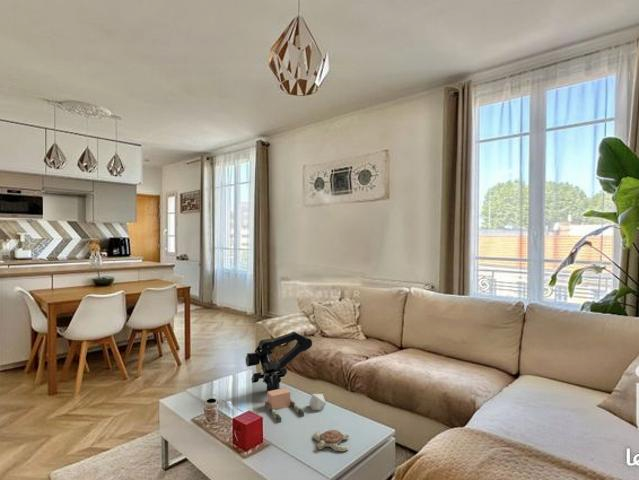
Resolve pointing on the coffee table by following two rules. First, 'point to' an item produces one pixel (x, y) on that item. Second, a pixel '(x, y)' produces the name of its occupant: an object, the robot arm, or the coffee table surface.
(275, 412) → the track
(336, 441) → the decorative turtle
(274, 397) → the block
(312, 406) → the die
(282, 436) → the coffee table surface
